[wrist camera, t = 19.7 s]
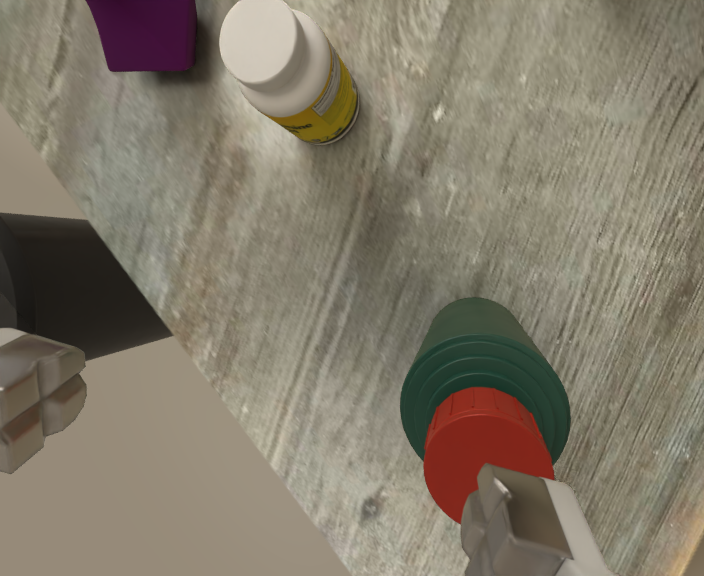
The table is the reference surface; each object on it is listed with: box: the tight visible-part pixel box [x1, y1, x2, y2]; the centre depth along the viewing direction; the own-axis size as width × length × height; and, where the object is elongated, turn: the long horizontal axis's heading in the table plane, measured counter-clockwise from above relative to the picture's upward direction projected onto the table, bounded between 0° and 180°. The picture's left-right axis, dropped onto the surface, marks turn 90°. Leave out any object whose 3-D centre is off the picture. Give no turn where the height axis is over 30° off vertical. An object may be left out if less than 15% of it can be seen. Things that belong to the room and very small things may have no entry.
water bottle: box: [400, 298, 571, 466], centre depth 22 cm, size 7×7×18 cm
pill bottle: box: [219, 0, 360, 145], centre depth 27 cm, size 6×6×11 cm
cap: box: [424, 387, 555, 524], centre depth 14 cm, size 4×4×3 cm
